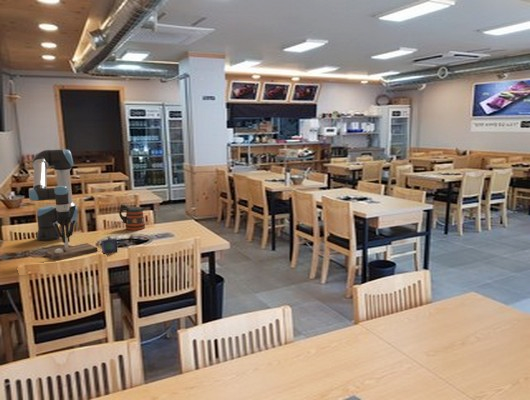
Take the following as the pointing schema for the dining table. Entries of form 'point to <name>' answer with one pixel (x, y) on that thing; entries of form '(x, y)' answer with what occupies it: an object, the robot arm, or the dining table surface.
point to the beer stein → (133, 217)
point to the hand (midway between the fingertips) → (66, 247)
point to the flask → (109, 245)
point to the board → (72, 251)
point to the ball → (59, 250)
